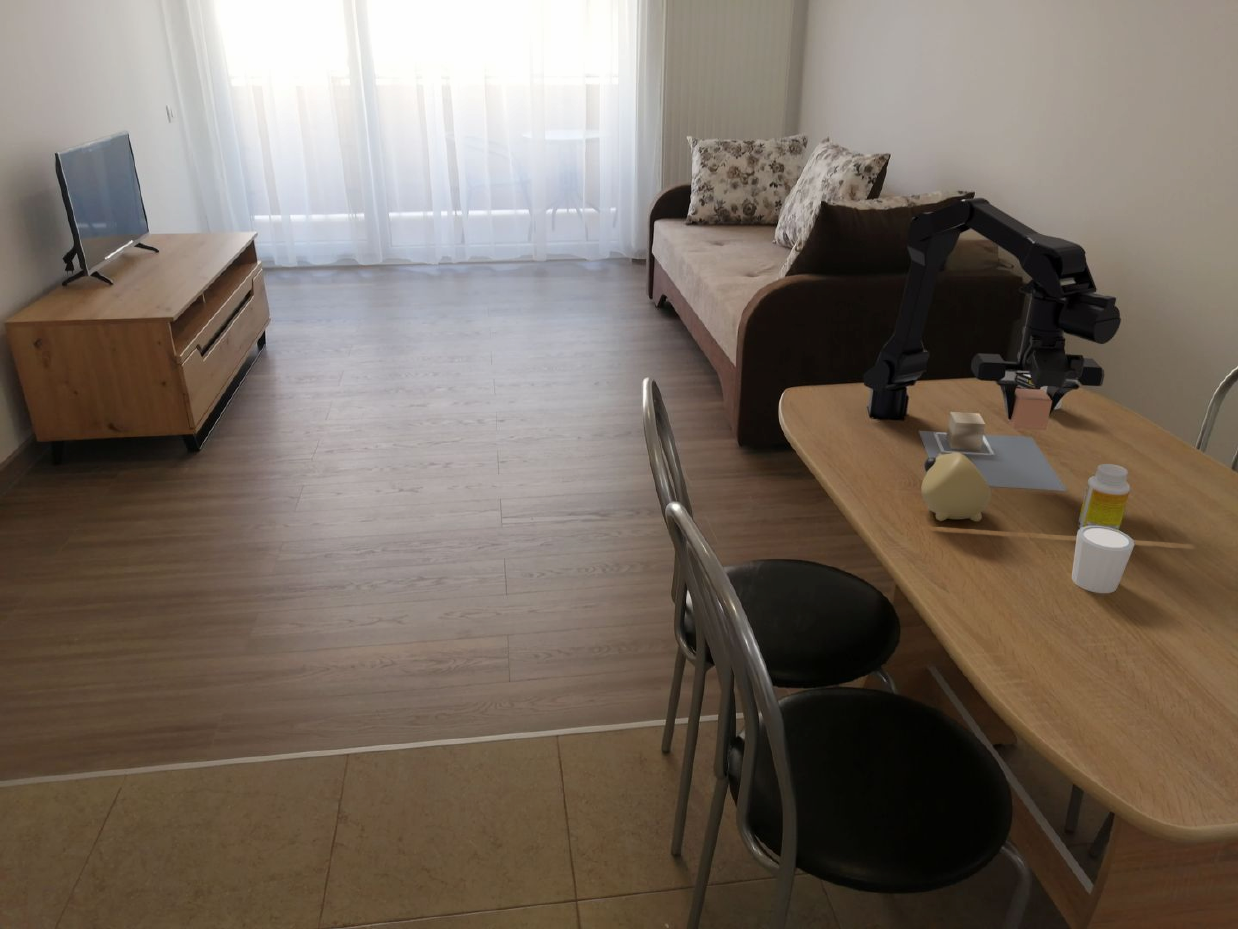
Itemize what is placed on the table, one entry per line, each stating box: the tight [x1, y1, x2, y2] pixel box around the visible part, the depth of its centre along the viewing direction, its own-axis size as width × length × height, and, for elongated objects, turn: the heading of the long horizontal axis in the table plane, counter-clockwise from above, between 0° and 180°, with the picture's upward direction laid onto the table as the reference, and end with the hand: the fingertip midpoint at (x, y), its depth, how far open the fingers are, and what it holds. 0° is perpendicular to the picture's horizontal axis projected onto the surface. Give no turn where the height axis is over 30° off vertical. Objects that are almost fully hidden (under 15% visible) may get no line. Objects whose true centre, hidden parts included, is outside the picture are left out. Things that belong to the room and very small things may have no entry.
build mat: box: [918, 430, 1068, 492], centre depth 162 cm, size 20×22×1 cm
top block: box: [1005, 388, 1052, 431], centre depth 151 cm, size 5×5×5 cm
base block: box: [946, 411, 986, 450], centre depth 166 cm, size 5×5×5 cm
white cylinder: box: [1071, 526, 1135, 594], centre depth 125 cm, size 7×7×7 cm
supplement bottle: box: [1077, 463, 1131, 531], centre depth 138 cm, size 6×6×10 cm
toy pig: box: [920, 452, 993, 522], centre depth 142 cm, size 10×12×11 cm
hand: (1026, 419), depth 151 cm, fingers closed on top block, 5 cm apart
